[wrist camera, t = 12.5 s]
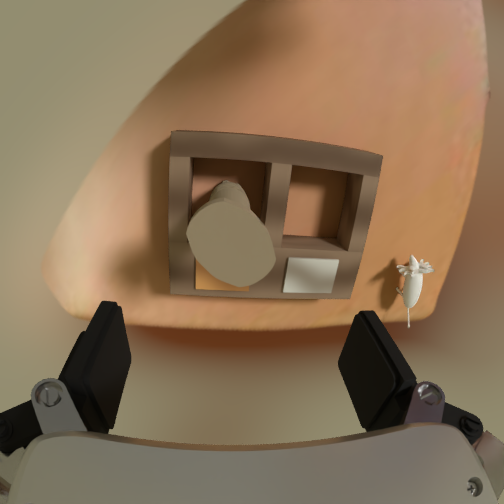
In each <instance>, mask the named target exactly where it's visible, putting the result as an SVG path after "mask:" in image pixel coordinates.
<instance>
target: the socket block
mask: <svg viewBox="0 0 504 504" xmlns="http://www.w3.org/2000/svg"><path fill="white" fill-rule="evenodd" d="M194 157H199V158H219V159H235V160H248V161H260V162H266V169H265V178H264V187H263V196H262V205H261V214H260V220H261V222H262V223H263V224H264V225H265V227H266V228H267V230H268V232H269V235H270V238H271V241H272V244H273V248H274V252H275V257H276V261H275V264H274V266H273V268H272V269H271V271H270V272H269V273H268V274H267V275H266V276H265V277H264V278H262V279H261V280H259V281H258V282H256V283H254V284H252V285H249V286H245V287H237V286H234V285H231V284H229V283H226V282H223V281H221V280H219V279H217V278H215V277H214V276H213V275H211V274H210V273H209V272H208V271H207V270H206V269H205V268H204V267H203V266H202V265H201V264H200V263H199V262H198V261H197V259H196V258H195V256H194V254H193V252H192V250H191V247H190V244H189V241H188V238H187V235H186V232H187V228H188V225H189V223H190V220H191V208H192V183H193V164H194ZM382 159H383V156H382V155H379V154H375V153H372V152H368V151H364V150H359V149H353V148H348V147H343V146H337V145H331V144H325V143H319V142H312V141H305V140H298V139H291V138H282V137H274V136H264V135H254V134H243V133H229V132H213V131H187V130H176V131H171V143H170V164H169V206H168V233H169V275H170V294H180V295H198V296H219V297H244V298H280V299H350V297H351V294H352V290H353V287H354V283H355V280H356V276H357V273H358V269H359V265H360V262H361V258H362V254H363V250H364V246H365V242H366V238H367V234H368V229H369V225H370V221H371V216H372V212H373V207H374V202H375V197H376V192H377V187H378V182H379V176H380V171H381V165H382ZM292 165H298V166H307V167H314V168H322V169H329V170H336V171H343V172H349V174H348V180H347V186H346V192H345V197H344V203H343V208H342V213H341V218H340V224H339V228H338V233H337V238H324V237H310V236H295V235H283V229H284V222H285V215H286V208H287V200H288V193H289V185H290V178H291V170H292Z"/></svg>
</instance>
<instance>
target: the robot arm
mask: <svg viewBox="0 0 504 504" xmlns="http://www.w3.org/2000/svg"><path fill="white" fill-rule="evenodd" d="M130 364H131V352H130V348H129V343H128V339H127V334H126V329H125V324H124V318H123V313H122V308H121V306H118V305H117V303H116V302H111V301H102V302H101V303H100V305H99V307H98V309H97V310H96V312H95V314H94V316H93V318H92V320H91V322H90V324H89V325H88V327H87V330H86V331H83V332H81V334H80V335H79V337H78V339H77V341H76V343H75V345H74V347H73V349H72V351H71V353H70V355H69V357H68V359H67V361H66V363H65V365H64V367H63V369H62V371H61V373H60V375H59V378H58V380H57V379H54V378H48V379H43V380H42V381H40V382H38V383H37V384H36V385H35V386H34V388H33V389H32V392H31V400H29V401H27V402H25V403H23V404H20V405H18V406H16V407H13V408H11V409H9V410H7V411H4V412H2V413H0V504H499V503H498V499H499V497H500V495H501V493H502V491H503V489H504V444H503V442H501V441H500V440H499V439H497V438H496V437H495V436H493V435H492V434H491V433H490V432H488V431H485V432H483V425H482V422H481V421H480V419H479V418H478V417H477V416H475V415H473V414H471V413H469V412H467V411H464V410H462V409H460V408H457V407H455V406H453V405H450V404H448V403H446V402H445V395H444V392H443V391H442V389H441V388H440V387H439V386H438V385H436V384H434V383H432V382H428V381H423V382H420V383H417V382H416V377H415V375H414V373H413V372H412V370H411V368H410V366H409V365H408V363H407V362H406V360H405V358H404V357H403V355H402V353H401V352H400V350H399V349H398V347H397V345H396V344H395V342H394V341H393V339H392V338H391V336H390V334H389V333H388V331H387V330H386V328H385V327H384V325H383V324H382V322H381V321H380V319H379V317H378V316H377V314H376V313H375V312H374V311H372V310H371V311H360V312H359V313H358V314H357V315H355V317H354V320H353V323H352V325H351V328H350V331H349V334H348V336H347V339H346V342H345V344H344V347H343V350H342V352H341V355H340V357H339V360H338V367H339V370H340V372H341V375H342V377H343V380H344V382H345V385H346V387H347V390H348V392H349V395H350V398H351V400H352V403H353V405H354V408H355V411H356V413H357V416H358V419H359V421H360V424H361V426H362V428H365V429H366V431H367V432H365V433H359V434H354V435H348V436H342V437H336V438H328V439H321V440H312V441H303V442H293V443H281V444H280V443H279V444H263V445H262V444H260V445H207V444H187V443H175V442H164V441H154V440H146V439H138V438H131V437H124V436H118V435H111V434H108V432H109V429H113V427H114V424H115V420H116V415H117V412H118V408H119V404H120V400H121V396H122V393H123V389H124V385H125V381H126V378H127V375H128V371H129V368H130Z"/></svg>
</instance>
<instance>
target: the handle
mask: <svg viewBox="0 0 504 504" xmlns="http://www.w3.org/2000/svg"><path fill="white" fill-rule="evenodd" d="M186 235H187V238H188V241H189V244H190V247H191V250H192V252H193V254H194V256H195V258H196V259H197V261H198V262H199V263H200V264H201V265H202V266H203V267H204V268H205V269H206V270H207V271H208V272H209V273H210V274H211V275H213V276H214V277H215V278H217V279H219V280H221V281H223V282H226V283H229V284H231V285H234V286H237V287H245V286H249V285H252V284H254V283H256V282H258V281H259V280H261V279H262V278H264V277H265V276H266V275H267V274H268V273H269V272H270V271H271V269H272V268H273V266H274V264H275V261H276V257H275V252H274V248H273V244H272V241H271V238H270V235H269V232H268V230H267V228H266V227H265V225H264V224H263V223H262V222H261V220H260V219H259V218H258V217H257V216H256V215H255V214H254V213H253V212H252V211H251V210H250V203H249V200H248V197H247V195H246V193H245V192H244V190H243V189H242V187H241V186H240V185H239V184H238V183H233V182H229V181H228V180H224V181H223V182H222V183H221V184H219V185H218V186H217V187H215V188H214V190H213V192H212V194H211V196H210V199H209V202H207V203H206V204H204V205H203V206H202V207H200V208H199V209H198V210H197V211H196V212H195V214H194V215H193V217H192V218H191V220H190V223H189V225H188V228H187V232H186Z"/></svg>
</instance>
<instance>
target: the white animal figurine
mask: <svg viewBox="0 0 504 504" xmlns="http://www.w3.org/2000/svg"><path fill="white" fill-rule="evenodd" d="M423 261H424V259H421V260H420V263H419V262H417V260H416V259H415V257H414V256H413V255H410V258H409V266H403V265H398V266H397V268H399V269H398V271H399V272H400V273H401V274H402V275H403V276H404V277H405V281H404V286H403V293H402V292H401V291H400V290H399V289H398V287H397V288H396V290H397V291H398V292H399V294H400V295H401V296H402V297H403V301H404V304H405V306H406V307H407V308H408V328H409V327H410V325H409V308H412V307H413V306H414V305H415V304H416V302H417V300H418V298H419V296H420V293H421V289H422V273H429V272H434V269H431V268H432V266H431V265H429V262H425V263H424V264H423ZM400 268H401V269H400ZM403 272H404V273H403Z"/></svg>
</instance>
